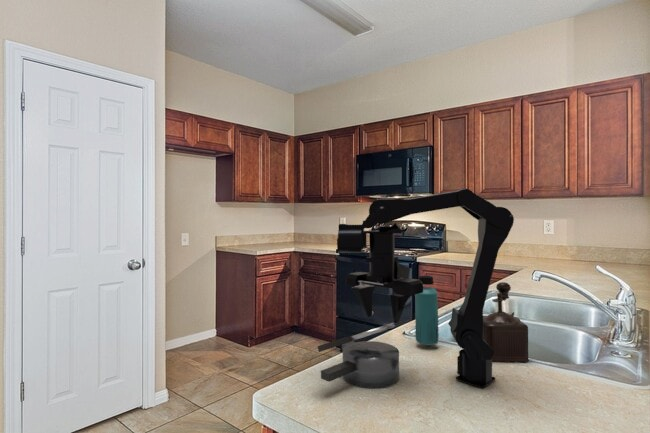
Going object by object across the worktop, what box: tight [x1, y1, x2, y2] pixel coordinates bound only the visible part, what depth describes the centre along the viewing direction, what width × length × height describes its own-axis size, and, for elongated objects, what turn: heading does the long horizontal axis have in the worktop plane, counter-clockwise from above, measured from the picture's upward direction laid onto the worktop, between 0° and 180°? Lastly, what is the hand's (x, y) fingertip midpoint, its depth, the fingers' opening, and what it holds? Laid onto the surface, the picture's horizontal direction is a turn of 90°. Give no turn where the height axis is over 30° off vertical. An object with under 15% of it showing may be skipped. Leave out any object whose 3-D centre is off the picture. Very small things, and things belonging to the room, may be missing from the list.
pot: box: [320, 340, 400, 389], centre depth 88 cm, size 14×21×6 cm, turn 133°
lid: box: [317, 322, 396, 353], centre depth 89 cm, size 13×21×1 cm, turn 133°
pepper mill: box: [483, 281, 530, 364], centre depth 106 cm, size 16×11×18 cm
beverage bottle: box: [414, 275, 440, 346], centre depth 111 cm, size 6×7×20 cm
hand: (382, 319), depth 91 cm, fingers open, 8 cm apart
